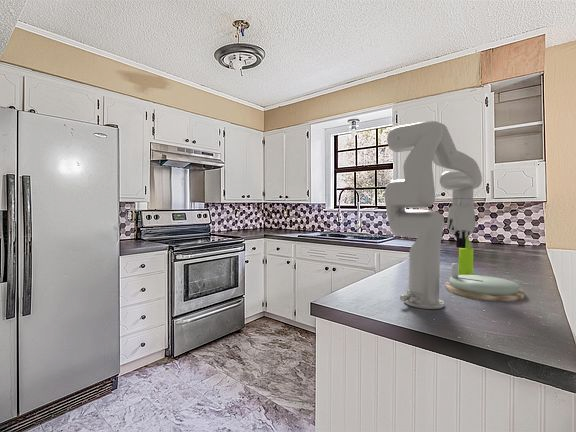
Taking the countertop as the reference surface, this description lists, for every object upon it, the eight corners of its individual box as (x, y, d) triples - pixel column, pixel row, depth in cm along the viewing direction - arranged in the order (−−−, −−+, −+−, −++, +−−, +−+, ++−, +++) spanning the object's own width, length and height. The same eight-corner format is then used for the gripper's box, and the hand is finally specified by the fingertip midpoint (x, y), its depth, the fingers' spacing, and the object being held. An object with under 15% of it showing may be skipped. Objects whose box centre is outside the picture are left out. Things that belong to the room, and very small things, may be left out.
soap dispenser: (468, 274, 153) (469, 232, 152) (475, 278, 146) (476, 234, 145) (455, 274, 154) (456, 232, 153) (461, 277, 147) (462, 233, 146)
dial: (522, 285, 126) (523, 266, 125) (515, 299, 108) (516, 276, 108) (457, 276, 141) (458, 259, 141) (442, 287, 124) (442, 267, 123)
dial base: (501, 306, 107) (502, 300, 107) (431, 288, 129) (431, 283, 129) (537, 294, 120) (537, 290, 120) (468, 280, 143) (468, 276, 143)
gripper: (470, 203, 138) (469, 246, 138) (440, 202, 134) (438, 246, 135) (485, 203, 131) (483, 248, 131) (453, 202, 127) (451, 248, 128)
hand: (460, 247), depth 133 cm, fingers closed
